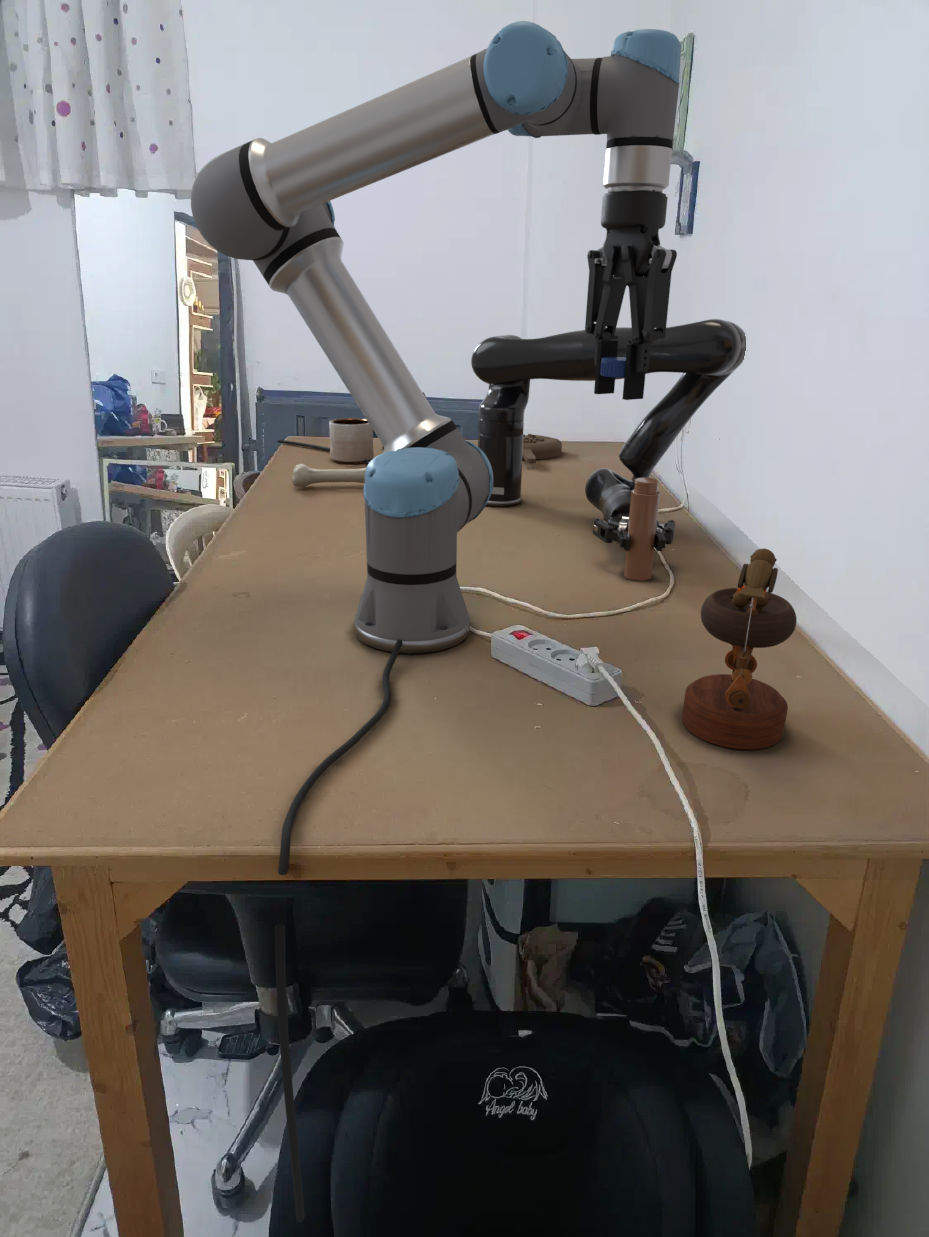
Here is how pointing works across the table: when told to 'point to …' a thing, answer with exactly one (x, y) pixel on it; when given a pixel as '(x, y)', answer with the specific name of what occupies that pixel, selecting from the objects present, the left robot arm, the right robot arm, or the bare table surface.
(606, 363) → the lid
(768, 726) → the music box
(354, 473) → the dog toy
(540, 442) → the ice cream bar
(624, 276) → the left robot arm
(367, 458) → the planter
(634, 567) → the bottle
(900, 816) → the table surface
